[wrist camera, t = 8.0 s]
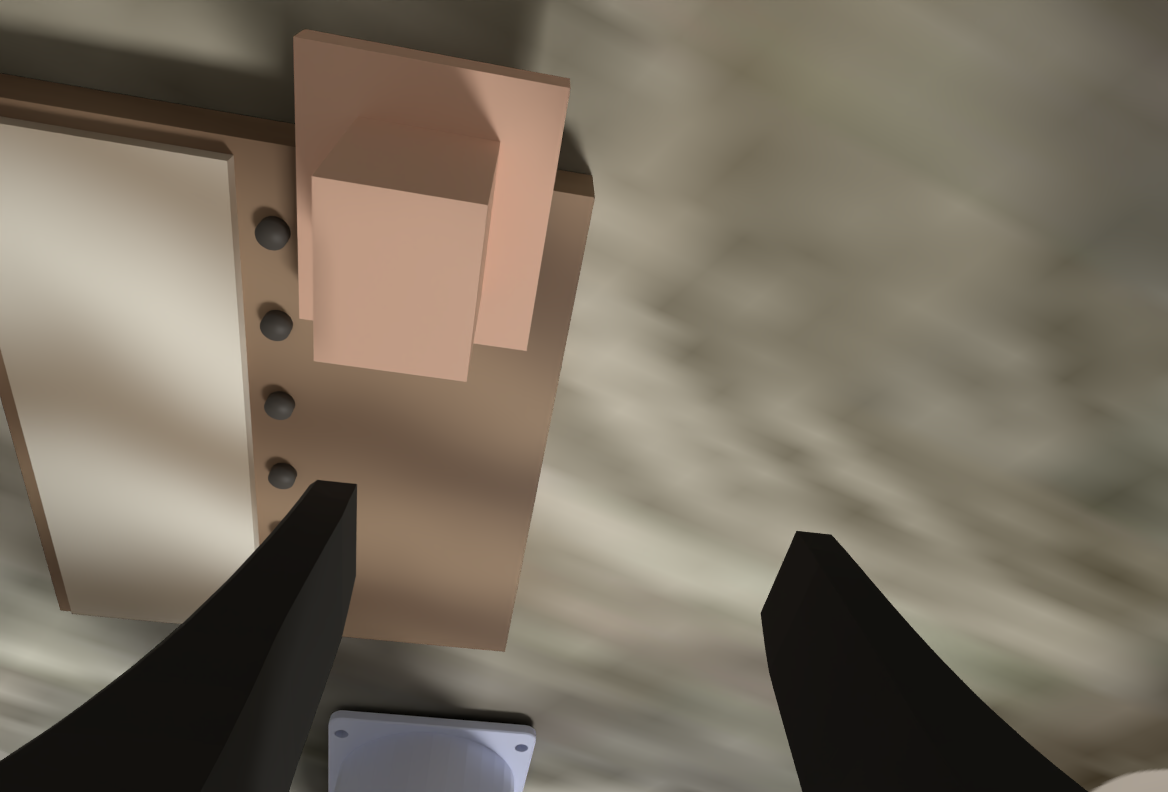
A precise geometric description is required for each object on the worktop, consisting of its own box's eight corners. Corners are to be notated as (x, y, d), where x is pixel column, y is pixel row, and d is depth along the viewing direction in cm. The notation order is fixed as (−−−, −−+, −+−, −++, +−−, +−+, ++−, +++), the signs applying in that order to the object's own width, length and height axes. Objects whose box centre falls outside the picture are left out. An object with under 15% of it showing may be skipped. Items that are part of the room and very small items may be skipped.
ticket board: (507, 616, 28) (504, 661, 26) (84, 574, 26) (53, 620, 24) (592, 175, 19) (595, 204, 17) (-42, 66, 17) (-102, 86, 15)
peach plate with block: (527, 334, 19) (521, 442, 16) (308, 302, 18) (249, 407, 15) (569, 78, 16) (573, 141, 12) (304, 28, 15) (227, 80, 12)
